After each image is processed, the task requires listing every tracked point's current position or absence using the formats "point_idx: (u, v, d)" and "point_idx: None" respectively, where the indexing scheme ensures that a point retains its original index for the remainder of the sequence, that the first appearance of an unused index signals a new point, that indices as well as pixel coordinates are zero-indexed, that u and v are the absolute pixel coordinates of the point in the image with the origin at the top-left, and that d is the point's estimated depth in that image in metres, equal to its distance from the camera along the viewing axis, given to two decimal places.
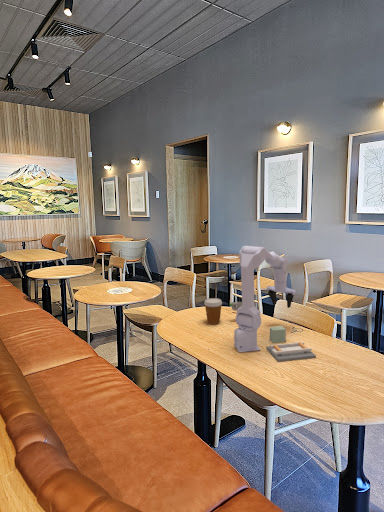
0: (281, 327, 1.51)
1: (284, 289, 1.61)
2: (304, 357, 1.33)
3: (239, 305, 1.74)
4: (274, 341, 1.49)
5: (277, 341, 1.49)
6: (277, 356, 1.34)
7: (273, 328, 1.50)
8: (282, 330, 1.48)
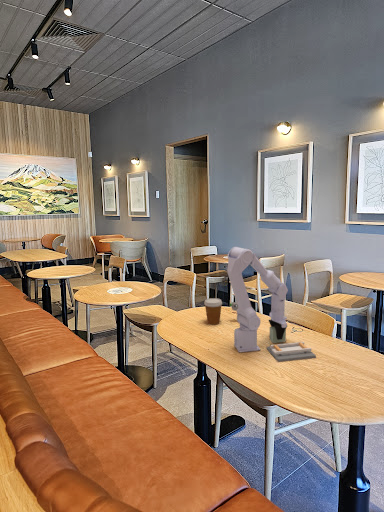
0: None
1: (277, 318, 1.46)
2: (304, 357, 1.33)
3: None
4: (274, 341, 1.49)
5: (277, 341, 1.49)
6: (277, 356, 1.34)
7: (273, 328, 1.50)
8: None
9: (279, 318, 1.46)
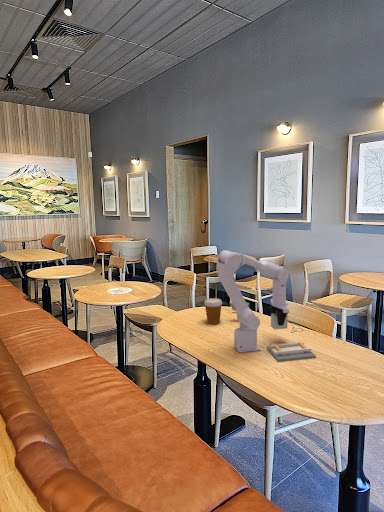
0: None
1: (278, 304, 1.44)
2: (304, 357, 1.33)
3: None
4: (276, 327, 1.46)
5: (279, 327, 1.47)
6: (277, 356, 1.34)
7: (275, 314, 1.48)
8: None
9: (280, 303, 1.44)
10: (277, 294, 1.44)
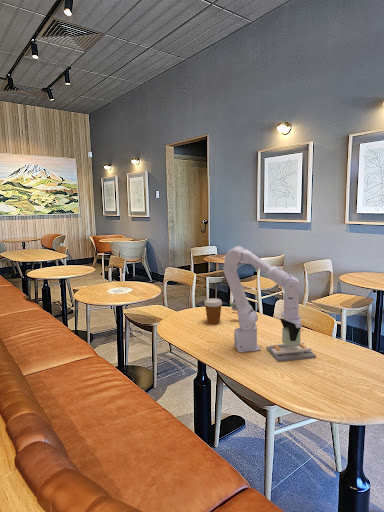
0: None
1: (291, 318, 1.33)
2: (304, 357, 1.33)
3: None
4: (288, 343, 1.35)
5: (291, 343, 1.35)
6: (277, 356, 1.34)
7: (286, 329, 1.36)
8: None
9: (293, 317, 1.33)
10: (285, 306, 1.34)
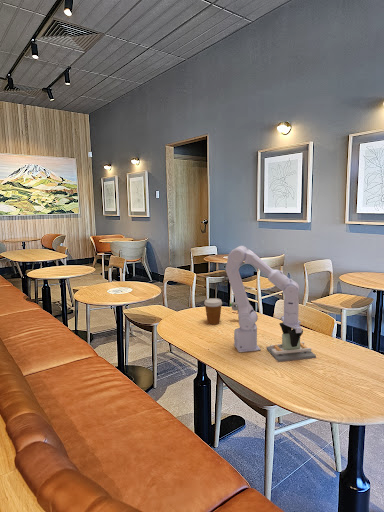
0: None
1: (291, 323, 1.33)
2: (304, 357, 1.33)
3: None
4: (287, 349, 1.36)
5: (291, 349, 1.36)
6: (277, 356, 1.34)
7: (286, 335, 1.37)
8: None
9: (293, 322, 1.33)
10: (285, 311, 1.34)
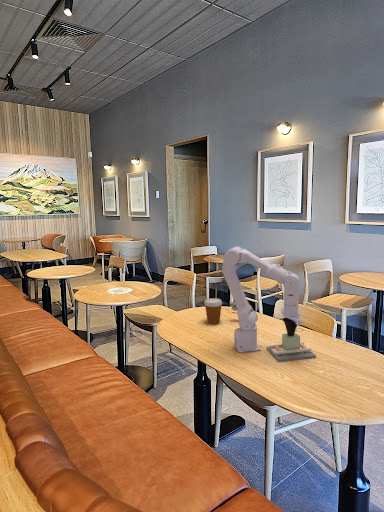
0: (295, 334, 1.38)
1: (291, 315, 1.33)
2: (304, 357, 1.33)
3: None
4: (287, 349, 1.36)
5: (291, 349, 1.36)
6: (277, 356, 1.34)
7: (286, 335, 1.37)
8: (296, 338, 1.35)
9: (293, 314, 1.33)
10: (285, 303, 1.34)
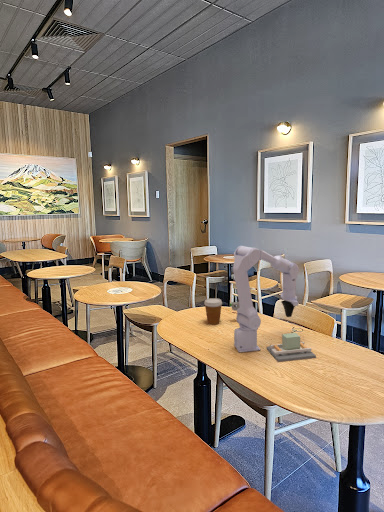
0: (295, 334, 1.38)
1: (289, 298, 1.50)
2: (304, 357, 1.33)
3: (239, 305, 1.74)
4: (287, 349, 1.36)
5: (291, 349, 1.36)
6: (277, 356, 1.34)
7: (286, 335, 1.37)
8: (296, 338, 1.35)
9: (290, 297, 1.50)
10: (288, 288, 1.49)
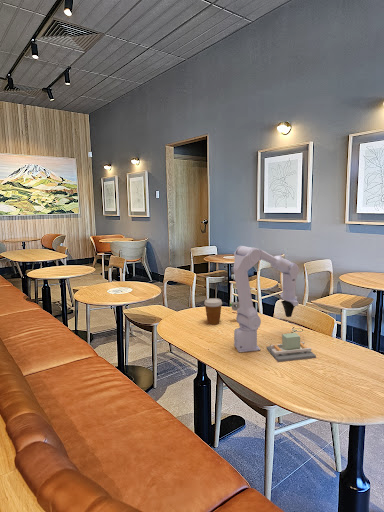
0: (295, 334, 1.38)
1: (288, 297, 1.50)
2: (304, 357, 1.33)
3: (239, 305, 1.74)
4: (287, 349, 1.36)
5: (291, 349, 1.36)
6: (277, 356, 1.34)
7: (286, 335, 1.37)
8: (296, 338, 1.35)
9: (290, 297, 1.50)
10: (288, 288, 1.49)
